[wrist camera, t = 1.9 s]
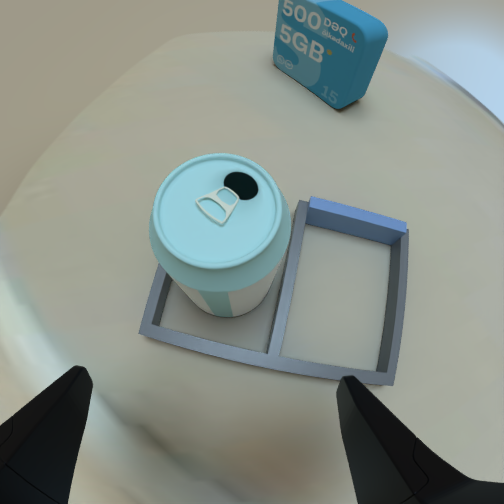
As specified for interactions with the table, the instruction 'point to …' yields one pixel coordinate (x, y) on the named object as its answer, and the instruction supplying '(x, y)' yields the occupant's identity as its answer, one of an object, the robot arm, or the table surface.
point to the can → (220, 231)
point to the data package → (328, 47)
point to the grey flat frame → (305, 213)
